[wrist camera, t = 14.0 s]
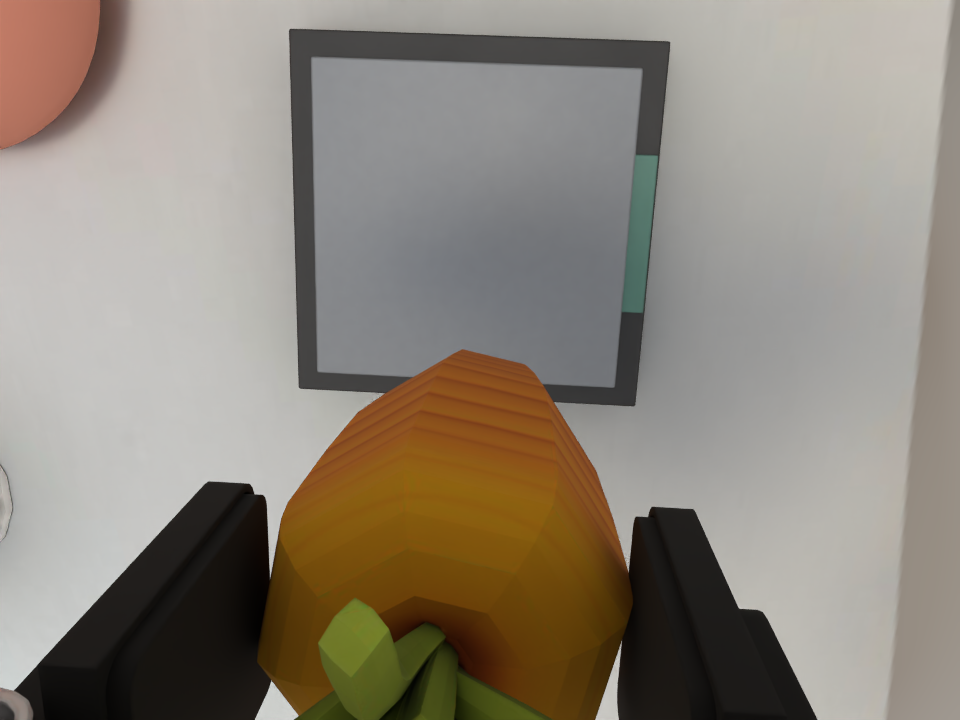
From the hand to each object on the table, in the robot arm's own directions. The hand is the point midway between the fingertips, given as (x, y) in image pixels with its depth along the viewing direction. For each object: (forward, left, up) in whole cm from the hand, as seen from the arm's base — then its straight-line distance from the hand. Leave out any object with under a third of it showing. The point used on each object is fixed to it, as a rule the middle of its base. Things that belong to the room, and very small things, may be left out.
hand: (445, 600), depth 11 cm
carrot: (0, 0, -10) cm, 10 cm away
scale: (+1, -3, -24) cm, 24 cm away
